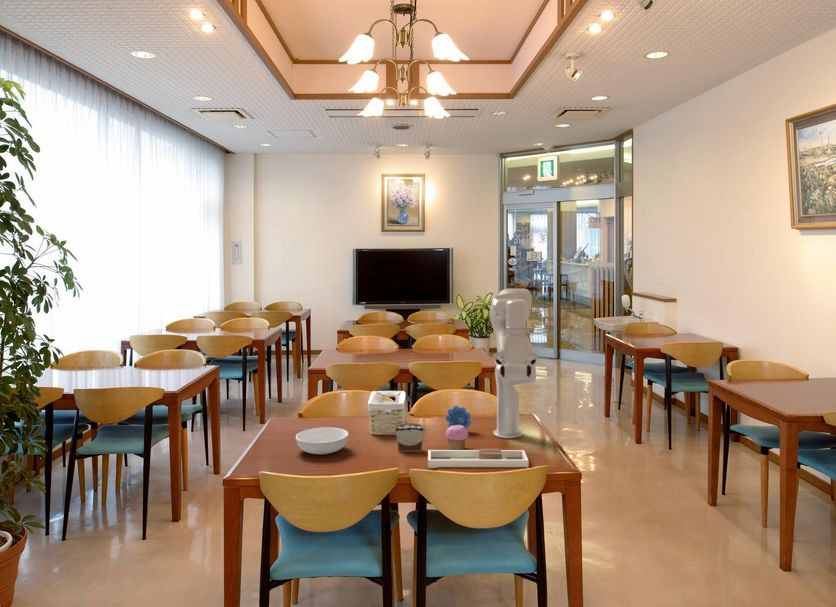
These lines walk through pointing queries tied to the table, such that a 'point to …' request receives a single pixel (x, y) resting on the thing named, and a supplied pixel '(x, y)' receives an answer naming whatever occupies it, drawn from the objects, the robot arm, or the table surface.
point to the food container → (409, 436)
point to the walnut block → (490, 454)
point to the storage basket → (386, 412)
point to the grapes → (458, 417)
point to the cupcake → (456, 437)
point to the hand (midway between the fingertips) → (515, 376)
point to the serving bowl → (322, 440)
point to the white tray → (475, 459)
